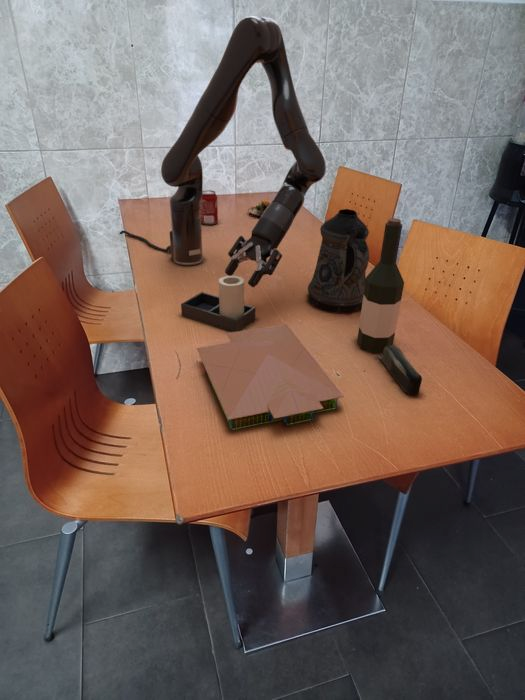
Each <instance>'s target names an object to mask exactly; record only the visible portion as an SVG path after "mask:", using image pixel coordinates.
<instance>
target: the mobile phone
mask: <svg viewBox="0 0 525 700" xmlns="http://www.w3.org/2000/svg"><path fill="white" fill-rule="evenodd" d="M377 358H378V359H379V360H380V361H381V362H382V363H383V365H384V366H385V367H386V369H387V371H388V372H389V373H390V374H391V376H392V377H393V379H394V380H395V381H396V383H397V384H398V385H399V386H400V388H401V389H402V391H403V392H404V393H406V394H407V395H410V396H415V395H419V393H420V389H421V384H422V382H423V377H422V375H421V374H420V373H419V372H418V371H417V370H416V369H415V368H414V366H413V365H412V364H411V363H410V362H409V360H408V359H407V357H406V356H405V355H404V353H403V351H402V349H400V348H399V347H397V346H395V345H394V344H393V345H388V346H385V348H384V351H383V353H382V355H381V354H378V355H377Z"/></svg>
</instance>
